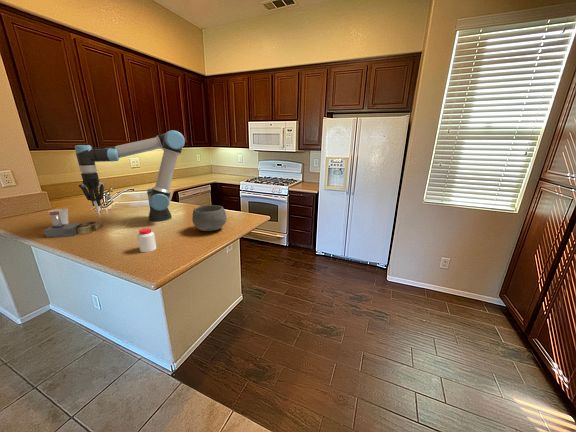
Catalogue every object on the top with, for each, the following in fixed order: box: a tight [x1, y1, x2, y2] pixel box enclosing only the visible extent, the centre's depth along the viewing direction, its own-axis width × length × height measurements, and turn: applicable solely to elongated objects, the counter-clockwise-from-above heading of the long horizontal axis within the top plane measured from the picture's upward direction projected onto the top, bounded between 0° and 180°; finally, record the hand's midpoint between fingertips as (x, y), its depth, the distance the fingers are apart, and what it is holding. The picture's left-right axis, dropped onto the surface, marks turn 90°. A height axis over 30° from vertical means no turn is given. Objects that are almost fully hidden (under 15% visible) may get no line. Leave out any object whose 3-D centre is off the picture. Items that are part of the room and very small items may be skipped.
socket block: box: [44, 222, 83, 238], centre depth 145 cm, size 14×10×5 cm
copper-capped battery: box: [48, 211, 62, 228], centre depth 143 cm, size 4×4×14 cm
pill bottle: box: [136, 227, 157, 253], centre depth 125 cm, size 8×8×11 cm
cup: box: [47, 208, 69, 224], centre depth 156 cm, size 10×10×11 cm
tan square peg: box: [76, 225, 93, 235], centre depth 146 cm, size 11×4×4 cm, turn 103°
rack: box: [81, 220, 104, 232], centre depth 153 cm, size 10×8×4 cm
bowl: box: [191, 204, 228, 232], centre depth 154 cm, size 21×21×15 cm
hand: (98, 211), depth 146 cm, fingers closed
